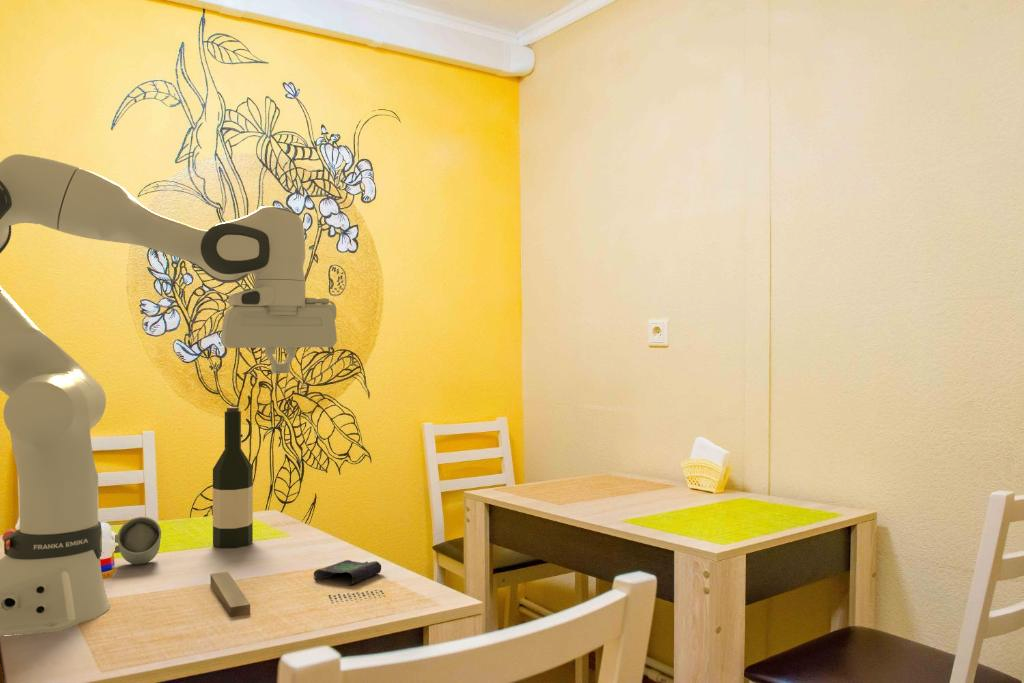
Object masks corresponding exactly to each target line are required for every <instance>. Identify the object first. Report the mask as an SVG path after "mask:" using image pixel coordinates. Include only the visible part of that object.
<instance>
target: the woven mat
mask: <svg viewBox="0 0 1024 683" xmlns="http://www.w3.org/2000/svg"><path fill="white" fill-rule="evenodd" d="M375 591H377V592H375ZM379 592H380V593H382V594H379ZM379 592H378V590H377V589H374V592H373V590H372V591H370V592H369V591H368V590H367V591H365V592H363V591H362V592H361V594H360V593H359V592H358V591H357V592H354V593H351V594H350V592H348V593H347V595H346V594H342V596H341V593H338V594H337V596H338V598H337V596H336V594H335V595H333V597H334V600H335V602H336V604H339V603H338V602H339V601H343V598H344V599H345V602H346V603H349V602H348V599H347V598H349V599H350V600H352V599H353V598H354V600H356V602H358V601H357V598H356V594H357V597H358V598H359V599H360V601H363V599H362V597H361V595H362V596H363V597H364V599H365V600H366V601H368V600H367V597H366V595H367V596H368V598H370V600H372V599H373V598H375V600H377V597H379V599H382V597H385V598H386V595H385V593H384V592H383V590H379ZM355 593H356V594H355ZM370 593H371V594H370ZM375 593H376V595H377V593H378V595H377V596H375ZM371 595H372V596H373V598H371ZM381 595H383V596H382V597H381ZM347 596H348V597H347ZM352 596H353V598H352ZM333 597H332V596H331V594H328V598H329V600H330V602H332V604H334V602H333V601H334V600H333V599H332V598H333ZM342 597H343V598H342ZM338 599H340V600H338Z"/></svg>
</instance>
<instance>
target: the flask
mask: <svg viewBox="0 0 1024 683" xmlns="http://www.w3.org/2000/svg"><path fill="white" fill-rule="evenodd" d="M381 571H382V565H381V563H380V562H379V561H377V560H376V561H374V560H373V561H370V562H368V561H365V562H359V561H353V560H349V559H345V560H343V561H340V562H337V563H335V564H331V565H327V566H325V567H322V568H319V569H316V570H315V571H314V572H313V579H314V581H315V582H318V581H321V580H323V579H325V578H328V577H330V576H334V575H335V574H342V573H349V574H351V576H352V582H351V583H348V584H347V585H346V587H349V586H351V585H354V584H357V583H358V582H360V581H363V580H365V579H368V578H371V577H373V576H376V575H378V574H380V573H381Z"/></svg>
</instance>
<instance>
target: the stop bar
mask: <svg viewBox="0 0 1024 683" xmlns="http://www.w3.org/2000/svg"><path fill="white" fill-rule="evenodd" d="M210 587H211V589H212V590H213V592H214V594H215V595H216V597H217V598H218V600H219V601H220V603H221V605H222V606H223V608H224V609H225V611H226V612H227V614H228V616H229V617H230V618H234V617H241V616H247V615H250V614H251V603H250V602H249V601H248V598H247V597H246V596H245V595H244V593H243V591H242V590H241V589H240V587H239V585H238V584H237V583H236V581H235V580H234V579H233V577H232V575H231V573H230V572H229V571H224V572H223V571H221V572H217V573H210Z"/></svg>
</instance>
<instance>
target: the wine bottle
mask: <svg viewBox="0 0 1024 683" xmlns="http://www.w3.org/2000/svg"><path fill="white" fill-rule="evenodd" d="M253 469H254V468H253V465H252V463H251V462H250V460H249V459H248V457H247V456H246V454H245V452H244V451H243V449H242V411H241V410H240V408H239V407H238V406H230V407H229V406H228V407H226V411H225V410H224V450H223V451H222V453H221V455H220V457H219V458H218V460H217V461H216V463H215V465H214V466H213V468H212V545H213V546H214V547H217V548H220V549H228V548H229V549H231V548H232V549H234V548H235V549H236V548H240V547H244V546H248V545H251V543H253V540H254V539H253V538H254V537H253V534H254V532H253V531H254V529H253V528H254V526H253V524H254V523H253V521H254V520H253V519H254V517H253V516H254V515H253V514H254V512H253V510H254V508H253V507H254V506H253V498H254V497H253V495H254V494H253V493H254V492H253V491H254V490H253V488H254V487H253V486H254V484H253V482H254V481H253V474H254V473H253V472H254V471H253Z"/></svg>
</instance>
